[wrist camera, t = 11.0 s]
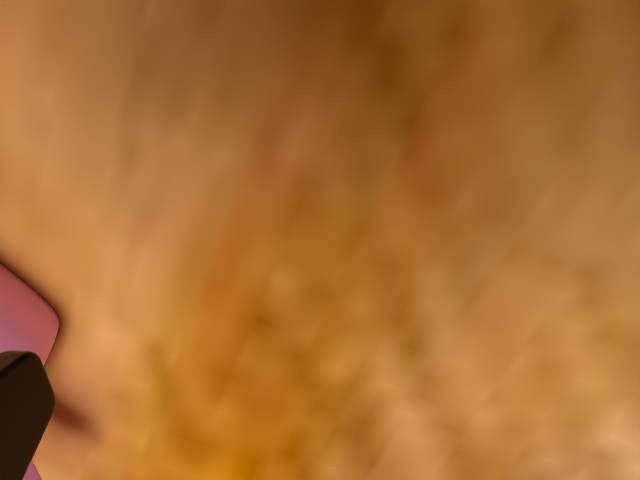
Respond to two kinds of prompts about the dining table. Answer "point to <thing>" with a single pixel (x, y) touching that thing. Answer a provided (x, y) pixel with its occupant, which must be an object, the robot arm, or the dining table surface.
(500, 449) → the dining table surface
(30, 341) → the teakettle
